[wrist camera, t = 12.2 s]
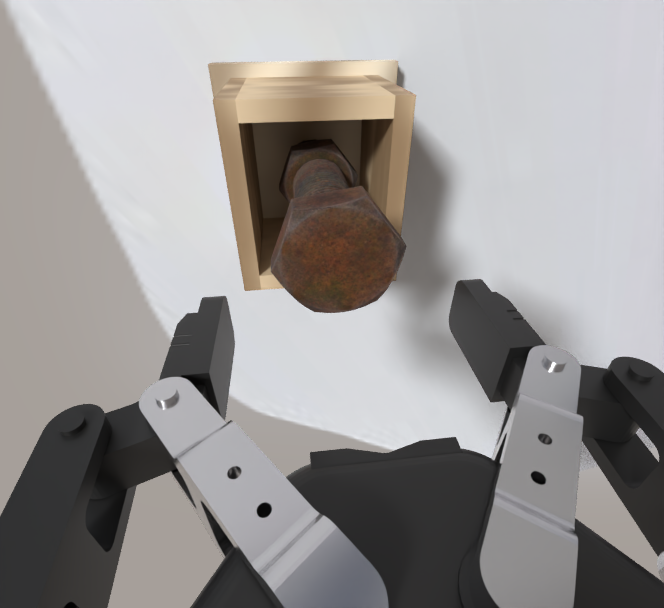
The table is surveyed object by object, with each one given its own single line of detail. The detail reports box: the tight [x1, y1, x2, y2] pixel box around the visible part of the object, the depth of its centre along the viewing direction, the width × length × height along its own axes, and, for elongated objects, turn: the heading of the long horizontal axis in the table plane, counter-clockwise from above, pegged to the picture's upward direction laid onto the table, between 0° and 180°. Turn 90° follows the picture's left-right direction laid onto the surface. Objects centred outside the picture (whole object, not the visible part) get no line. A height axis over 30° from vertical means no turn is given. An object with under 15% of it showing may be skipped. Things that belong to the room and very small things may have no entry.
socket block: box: [208, 60, 416, 291], centre depth 25 cm, size 12×12×10 cm
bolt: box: [271, 139, 406, 313], centre depth 22 cm, size 6×5×15 cm
